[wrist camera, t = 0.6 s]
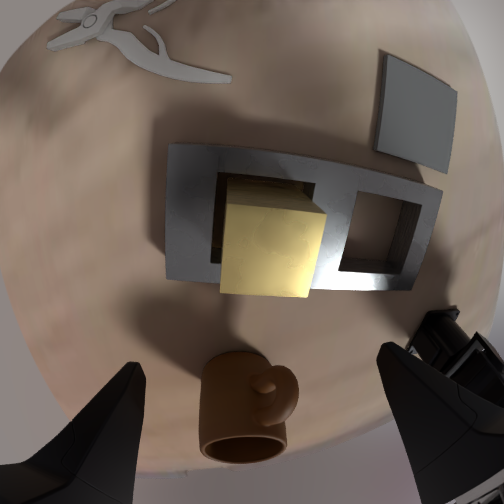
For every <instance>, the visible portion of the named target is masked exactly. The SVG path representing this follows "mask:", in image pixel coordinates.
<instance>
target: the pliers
mask: <svg viewBox="0 0 504 504" xmlns="http://www.w3.org/2000/svg"><path fill="white" fill-rule="evenodd" d="M153 1H154V0H113V1H110V2H108V3H105V4H103V5H102V6H101V7H100V8H98V9H94V8H91V7H84V8H78V9H73V10H69V11H64V12H60V13H59V15H58V16H57V18H56V19H57V20H59V21H61V22H70V23H81V25H80V26H79V27H77V28H76V29H73V30H71V31H69V32H67V33H65V34H63V35H61V36H59V37H57V38H55V39H53V40H51V41H50V42H48V43H47V49H49V50H52V51H58V50H62V49H66V48H69V47H73V46H77V45H82V44H85V41H87V40H89V39H92V38H94V37H96V39H97V40H98V41H104V42H110V43H111V44H113V45H115V46H116V47H118V49H119V50H120V51H121V52H122V53H123V55H124V56H125V57H126V58H127V59H128V60H130V61H131V62H133V63H134V64H136V65H137V66H139V67H141V68H143V69H145V70H147V71H150V72H153V73H155V74H158V75H161V76H164V77H168V78H171V79H176V80H181V81H186V82H195V83H210V84H231V80H232V76H229V75H225V74H220V73H216V72H212V71H208V70H203V69H199V68H195V67H191V66H188V65H185V64H182V63H179V62H176V61H172V60H170V58H169V57H168V55H167V51H166V46H165V44H164V42H163V40H162V38H161V37H160V35H159V34H158V33H156V32H155V31H154V30H153V29H152V28H150V27H148V26H146V25H144V26H143V28H144V29H145V30H147V31H148V32H150V33H151V34H152V35H153V36H154V37H155V38H156V40H157V42H158V44H159V55H157V54H155V53H153V52H151V51H149V50H148V49H147V48H146V47H145V46H144V45H143V44H142V43H141V42H140V41H139V40H138V39H137V38H136V37H135V36H134V35H133V34H132V33H131V32H126V31H120V30H114V29H113V16H114V15H115V14H126V13H129V12H132V11H136V10H139V9H141V8H143V7H145V6H146V5H148V4H149V3H151V2H153ZM175 1H176V0H167V1H166V2H164V3H162V4H161V5H159V6H157V7H155V8H153V9H151V10H149V11H148V13H149V14H150V15H151V14H153V13H155V12H157V11H159V10H161V9H163V8H165V7H167V6H169V5H171V4H172V3H173V2H175Z"/></svg>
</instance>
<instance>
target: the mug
mask: <svg viewBox="0 0 504 504" xmlns="http://www.w3.org/2000/svg"><path fill="white" fill-rule="evenodd" d="M298 398H299V387H298V381H297V379H296V377H295V375H294V374H293V373H292V371H291V370H290V369H288V368H287V367H285V366H280V365H276V366H272V365H271V364H270V363H269V362H268V361H267V360H266V359H264V358H263V357H261V356H259V355H256V354H253V353H249V352H230V353H225V354H222V355H219V356H217V357H215V358H213V359H212V360H211V361H210V362H209V363H208V364H207V365H206V366H205V368H204V370H203V373H202V379H201V393H200V409H199V443H200V451H201V453H202V454H203V455H204V456H205V457H207V458H209V459H211V460H214V461H218V462H223V463H230V464H248V463H256V462H261V461H266V460H269V459H272V458H274V457H276V456H278V455H280V454H282V453H283V452H284V451H285V450H286V447H287V438H286V426H285V420H286V419H287V418H288V417H289V416H290V415H291V414H292V412H293V411H294V409H295V407H296V405H297V402H298Z"/></svg>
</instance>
